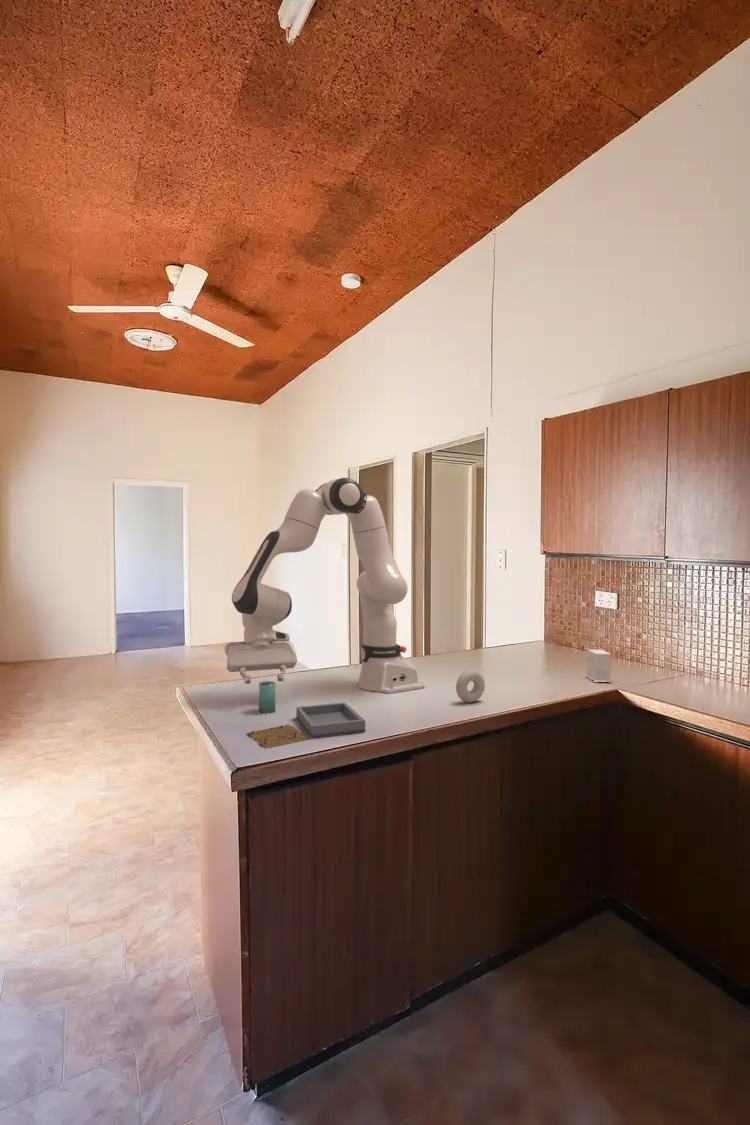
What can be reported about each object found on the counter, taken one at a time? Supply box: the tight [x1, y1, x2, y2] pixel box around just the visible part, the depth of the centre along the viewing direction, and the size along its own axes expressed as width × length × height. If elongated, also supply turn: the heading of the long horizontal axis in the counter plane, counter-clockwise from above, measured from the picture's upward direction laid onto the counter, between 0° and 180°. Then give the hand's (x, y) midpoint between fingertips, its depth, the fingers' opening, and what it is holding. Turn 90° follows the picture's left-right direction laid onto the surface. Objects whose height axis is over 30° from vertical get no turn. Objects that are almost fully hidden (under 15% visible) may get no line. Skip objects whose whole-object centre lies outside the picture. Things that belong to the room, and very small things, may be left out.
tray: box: [295, 701, 366, 739], centre depth 143 cm, size 14×16×3 cm
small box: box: [586, 648, 612, 682], centre depth 195 cm, size 8×6×10 cm
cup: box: [258, 680, 276, 715], centre depth 153 cm, size 4×4×8 cm
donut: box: [455, 669, 486, 703], centre depth 165 cm, size 10×4×10 cm, turn 116°
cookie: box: [245, 724, 310, 750], centre depth 134 cm, size 12×12×1 cm
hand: (264, 681), depth 155 cm, fingers open, 8 cm apart
